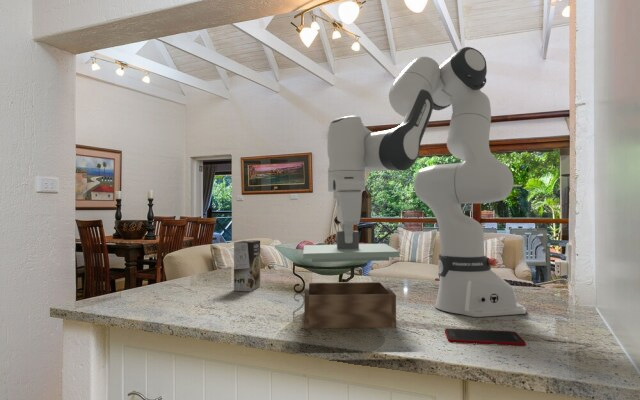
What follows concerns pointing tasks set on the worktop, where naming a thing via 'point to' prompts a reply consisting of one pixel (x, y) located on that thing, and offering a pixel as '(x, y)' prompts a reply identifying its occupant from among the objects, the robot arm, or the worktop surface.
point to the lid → (349, 251)
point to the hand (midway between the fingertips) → (347, 242)
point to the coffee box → (246, 265)
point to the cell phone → (484, 337)
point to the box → (349, 305)
